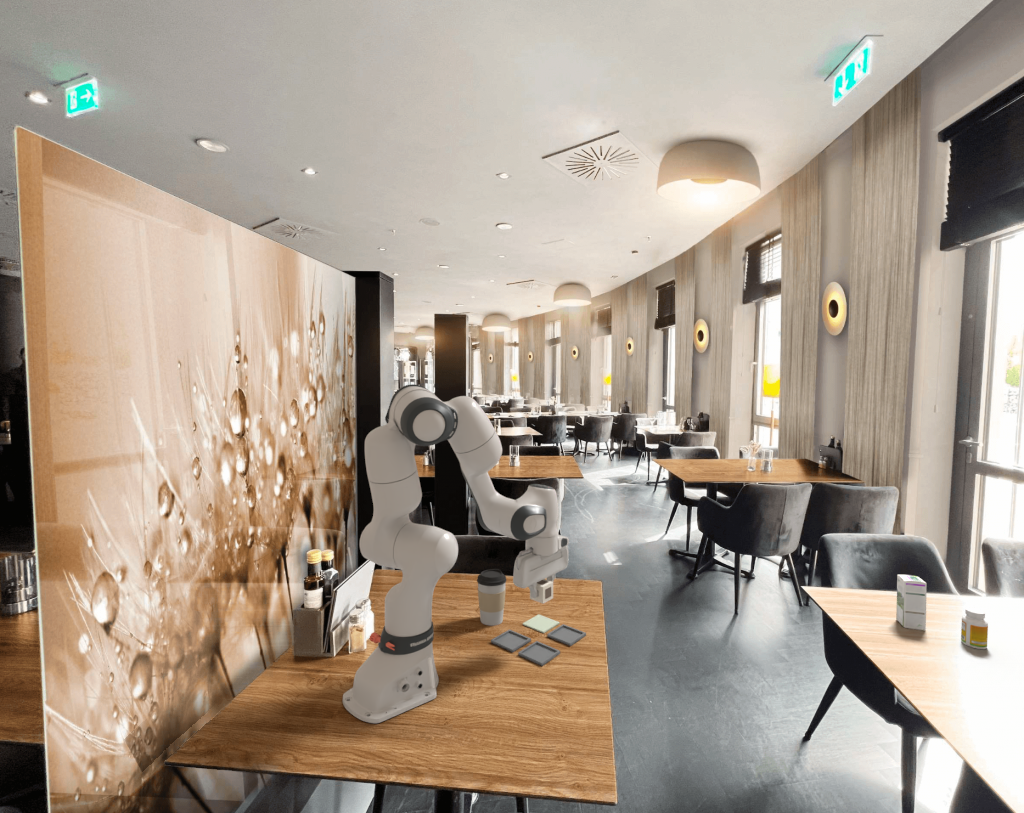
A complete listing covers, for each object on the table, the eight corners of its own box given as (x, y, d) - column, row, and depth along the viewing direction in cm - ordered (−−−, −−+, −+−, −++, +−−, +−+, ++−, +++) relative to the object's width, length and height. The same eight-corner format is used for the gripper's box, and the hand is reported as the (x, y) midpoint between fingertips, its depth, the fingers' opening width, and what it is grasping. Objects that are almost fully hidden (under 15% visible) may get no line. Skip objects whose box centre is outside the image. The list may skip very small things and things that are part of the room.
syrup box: (926, 631, 147) (928, 582, 147) (902, 627, 149) (904, 580, 149) (917, 622, 153) (919, 575, 152) (894, 619, 155) (896, 573, 154)
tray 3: (570, 646, 138) (570, 643, 138) (547, 636, 143) (547, 634, 143) (586, 635, 144) (586, 632, 144) (563, 626, 149) (563, 624, 149)
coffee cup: (493, 630, 147) (493, 580, 146) (470, 621, 152) (470, 573, 151) (512, 619, 154) (512, 571, 153) (489, 610, 159) (489, 564, 159)
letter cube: (543, 603, 133) (543, 587, 132) (529, 598, 136) (530, 582, 135) (553, 598, 136) (553, 581, 136) (540, 593, 139) (540, 577, 139)
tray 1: (512, 652, 134) (512, 649, 134) (490, 642, 140) (490, 639, 139) (530, 641, 140) (531, 638, 140) (509, 632, 146) (509, 629, 146)
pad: (543, 633, 145) (543, 631, 145) (522, 624, 150) (522, 623, 150) (559, 623, 151) (559, 622, 151) (538, 615, 156) (538, 614, 156)
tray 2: (542, 666, 128) (542, 663, 128) (518, 655, 133) (518, 652, 133) (560, 653, 134) (560, 650, 134) (536, 643, 139) (536, 640, 139)
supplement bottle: (991, 648, 138) (993, 613, 137) (978, 651, 136) (980, 616, 136) (968, 638, 143) (970, 605, 143) (956, 641, 141) (957, 607, 141)
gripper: (526, 556, 125) (525, 610, 126) (572, 537, 140) (572, 585, 141) (507, 550, 129) (507, 602, 130) (554, 532, 145) (554, 579, 145)
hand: (541, 593), depth 136 cm, fingers closed on letter cube, 4 cm apart
